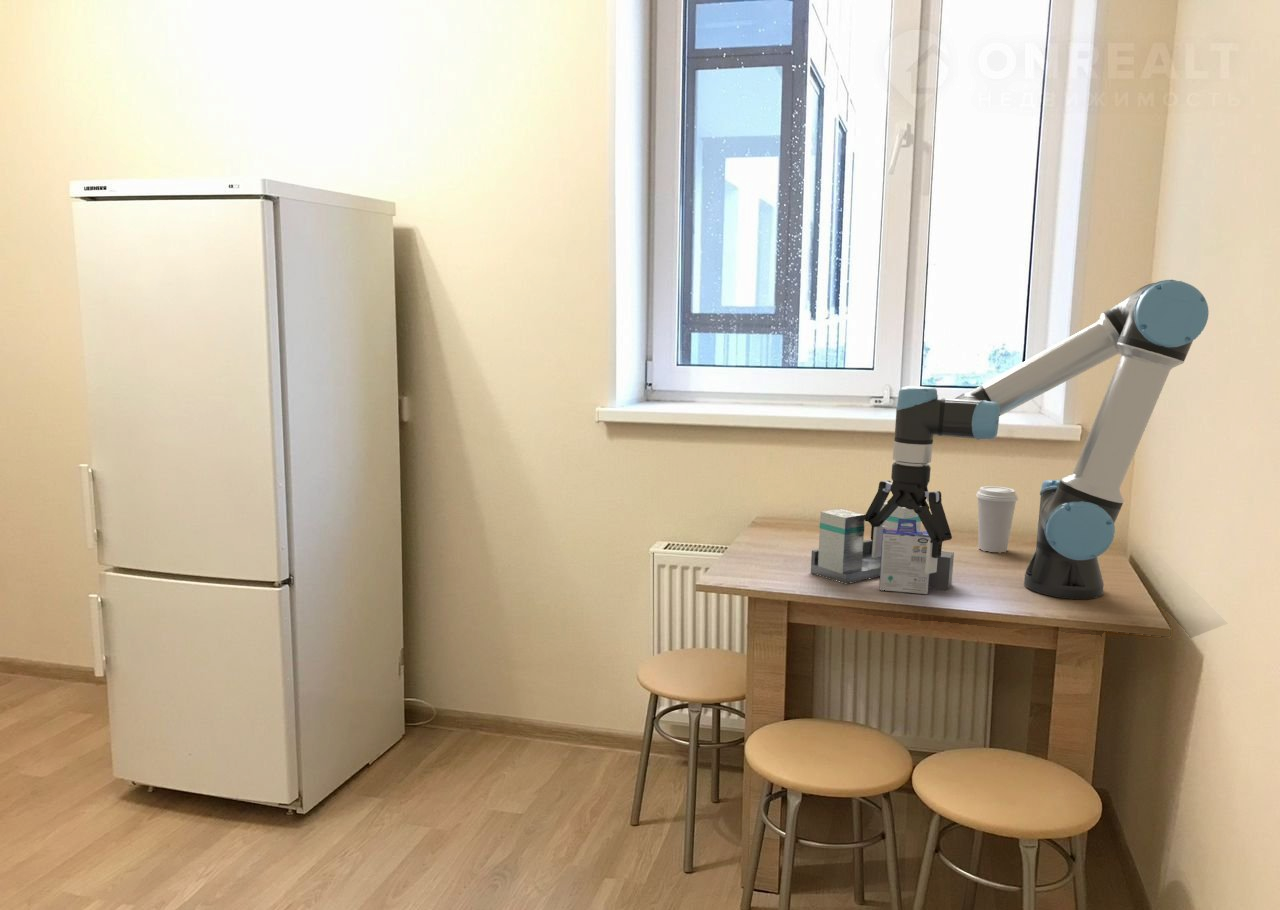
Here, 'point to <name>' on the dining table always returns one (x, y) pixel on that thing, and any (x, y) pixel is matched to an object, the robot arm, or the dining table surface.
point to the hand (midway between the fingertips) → (903, 564)
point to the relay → (942, 572)
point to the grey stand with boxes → (851, 544)
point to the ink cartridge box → (904, 559)
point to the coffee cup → (995, 517)
